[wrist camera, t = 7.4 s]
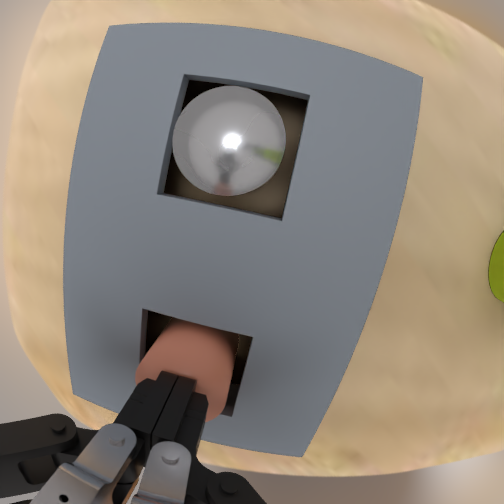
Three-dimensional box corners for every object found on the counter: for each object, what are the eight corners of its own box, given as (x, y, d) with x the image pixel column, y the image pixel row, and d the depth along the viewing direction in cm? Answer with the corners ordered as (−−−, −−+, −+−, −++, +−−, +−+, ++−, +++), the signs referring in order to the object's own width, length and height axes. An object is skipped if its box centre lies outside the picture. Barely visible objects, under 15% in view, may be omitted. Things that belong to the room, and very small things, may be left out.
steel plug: (289, 123, 14) (296, 97, 10) (272, 198, 15) (271, 207, 11) (212, 108, 14) (186, 79, 10) (196, 182, 15) (162, 184, 11)
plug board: (384, 102, 14) (422, 77, 10) (298, 404, 19) (302, 457, 14) (148, 58, 15) (109, 25, 10) (107, 355, 19) (73, 393, 15)
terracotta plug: (246, 313, 16) (234, 367, 11) (231, 372, 17) (218, 432, 12) (172, 295, 16) (136, 339, 11) (166, 355, 17) (135, 408, 12)
